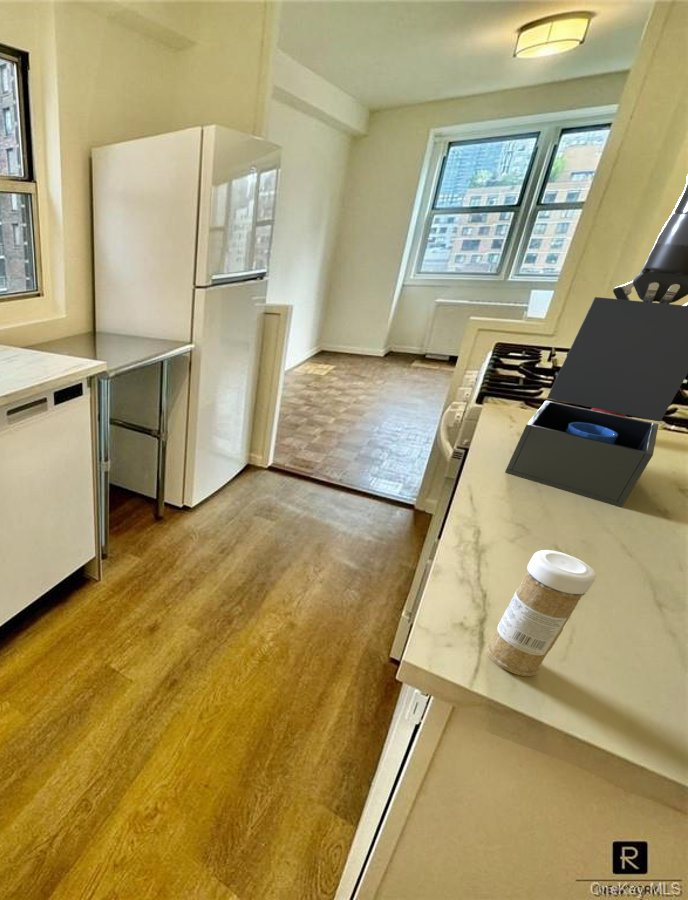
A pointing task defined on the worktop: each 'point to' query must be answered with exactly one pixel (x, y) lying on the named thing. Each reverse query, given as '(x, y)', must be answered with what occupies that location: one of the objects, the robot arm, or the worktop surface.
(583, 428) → the cup
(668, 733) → the worktop surface
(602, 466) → the grey storage bin
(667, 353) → the door
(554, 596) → the sprinkles bottle
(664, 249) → the robot arm
